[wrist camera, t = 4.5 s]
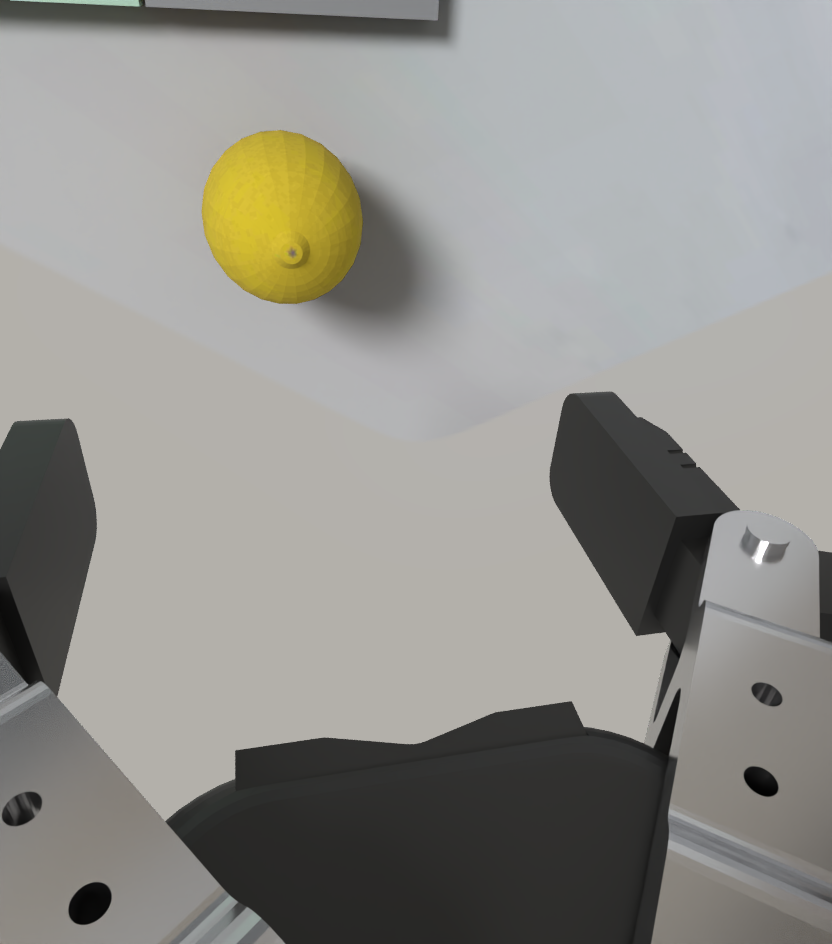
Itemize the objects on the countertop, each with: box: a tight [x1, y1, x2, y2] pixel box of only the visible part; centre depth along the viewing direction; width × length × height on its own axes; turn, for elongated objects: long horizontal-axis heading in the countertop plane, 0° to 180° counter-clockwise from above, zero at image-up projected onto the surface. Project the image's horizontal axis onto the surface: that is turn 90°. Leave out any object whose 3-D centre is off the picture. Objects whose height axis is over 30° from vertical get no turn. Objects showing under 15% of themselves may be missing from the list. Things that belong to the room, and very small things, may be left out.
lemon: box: [202, 130, 363, 304], centre depth 25 cm, size 6×6×8 cm
